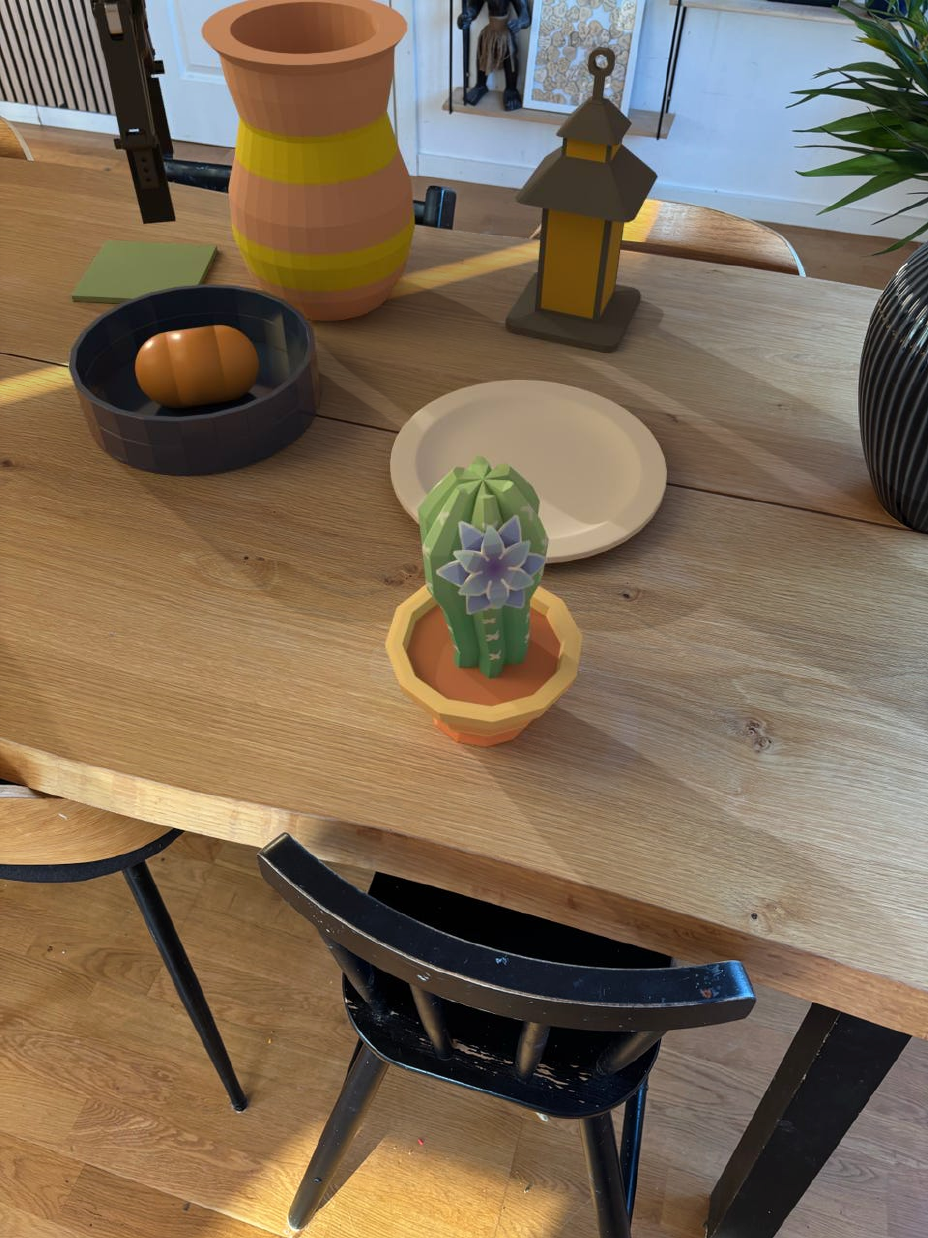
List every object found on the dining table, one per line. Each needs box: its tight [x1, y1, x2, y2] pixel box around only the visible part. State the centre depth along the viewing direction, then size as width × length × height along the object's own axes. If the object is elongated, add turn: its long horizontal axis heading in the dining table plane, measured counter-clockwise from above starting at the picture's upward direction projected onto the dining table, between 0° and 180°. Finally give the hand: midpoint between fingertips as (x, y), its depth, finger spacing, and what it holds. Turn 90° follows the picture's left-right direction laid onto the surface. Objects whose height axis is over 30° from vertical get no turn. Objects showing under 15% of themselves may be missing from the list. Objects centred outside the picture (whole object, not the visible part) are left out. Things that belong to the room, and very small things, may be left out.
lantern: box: [505, 46, 659, 354], centre depth 111 cm, size 14×14×30 cm
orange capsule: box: [135, 325, 259, 409], centre depth 106 cm, size 13×8×8 cm, turn 106°
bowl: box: [67, 283, 322, 477], centre depth 106 cm, size 25×25×7 cm
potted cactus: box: [384, 456, 584, 748], centre depth 73 cm, size 15×15×25 cm
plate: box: [389, 379, 668, 564], centre depth 100 cm, size 28×28×2 cm
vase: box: [200, 0, 416, 322], centre depth 114 cm, size 22×22×30 cm
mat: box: [70, 239, 219, 304], centre depth 126 cm, size 15×14×1 cm
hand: (159, 185), depth 89 cm, fingers open, 13 cm apart
